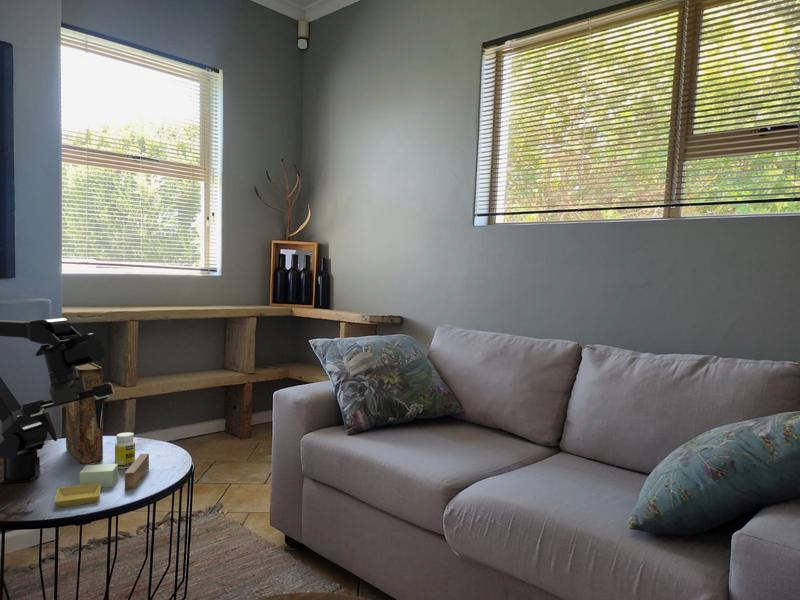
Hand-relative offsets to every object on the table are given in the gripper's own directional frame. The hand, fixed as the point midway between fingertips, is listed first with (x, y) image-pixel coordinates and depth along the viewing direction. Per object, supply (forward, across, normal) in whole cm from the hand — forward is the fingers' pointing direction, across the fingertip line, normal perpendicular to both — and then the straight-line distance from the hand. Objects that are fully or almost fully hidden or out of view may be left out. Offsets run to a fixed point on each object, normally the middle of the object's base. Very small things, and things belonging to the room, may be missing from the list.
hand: (77, 434), depth 134 cm
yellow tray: (+14, -2, -7) cm, 16 cm away
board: (+14, +10, +1) cm, 18 cm away
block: (+13, +2, +1) cm, 13 cm away
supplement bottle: (+12, +7, +12) cm, 19 cm away
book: (+8, -3, +24) cm, 26 cm away
